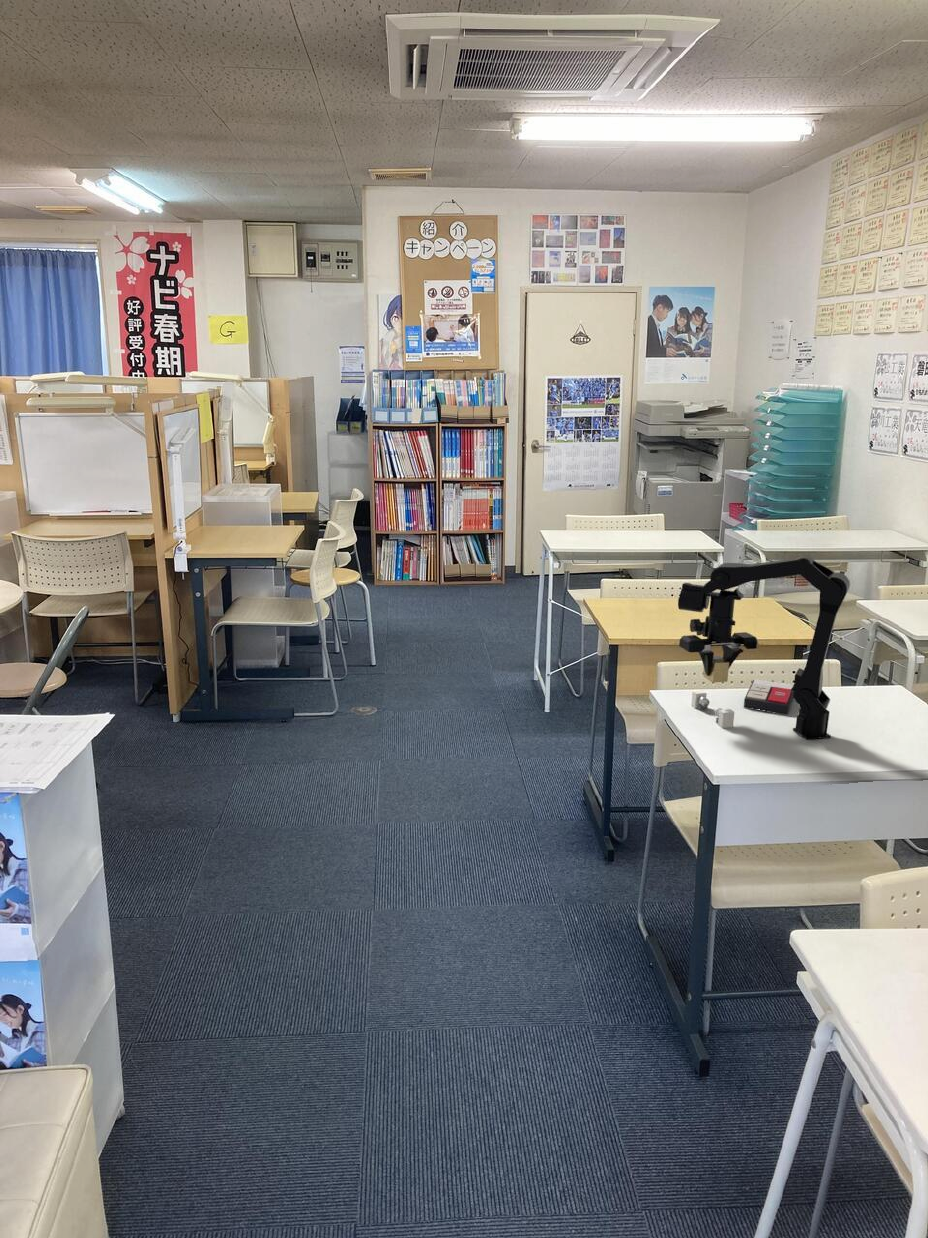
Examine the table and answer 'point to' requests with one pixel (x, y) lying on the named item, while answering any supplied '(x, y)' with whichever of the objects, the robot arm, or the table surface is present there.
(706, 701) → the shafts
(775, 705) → the red and grey box
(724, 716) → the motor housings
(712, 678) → the tan block
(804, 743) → the table surface
